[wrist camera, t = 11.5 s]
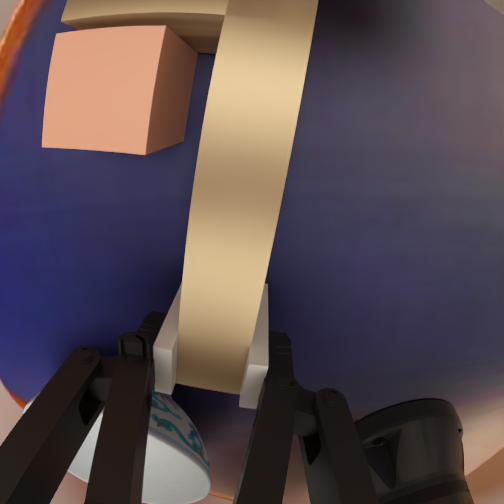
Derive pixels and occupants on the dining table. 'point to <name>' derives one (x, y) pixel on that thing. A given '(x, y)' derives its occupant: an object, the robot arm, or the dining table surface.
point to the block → (118, 90)
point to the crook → (228, 162)
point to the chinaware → (161, 455)
